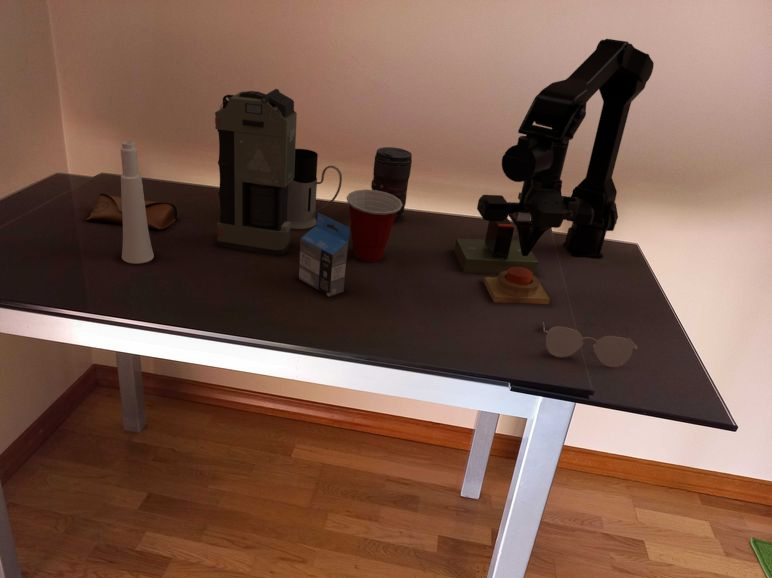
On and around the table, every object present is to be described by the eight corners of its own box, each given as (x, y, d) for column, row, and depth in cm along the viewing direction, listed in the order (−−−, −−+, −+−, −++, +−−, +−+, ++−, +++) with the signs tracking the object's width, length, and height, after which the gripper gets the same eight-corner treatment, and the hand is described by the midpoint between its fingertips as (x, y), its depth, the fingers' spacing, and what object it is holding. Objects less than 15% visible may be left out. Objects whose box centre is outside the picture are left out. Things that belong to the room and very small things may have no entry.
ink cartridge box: (297, 279, 129) (300, 216, 122) (313, 274, 131) (317, 211, 125) (328, 297, 123) (333, 232, 117) (345, 292, 125) (350, 227, 119)
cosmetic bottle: (145, 248, 137) (136, 136, 125) (159, 259, 133) (151, 144, 121) (116, 255, 134) (104, 140, 122) (129, 266, 130) (118, 149, 118)
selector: (484, 242, 141) (490, 212, 137) (499, 242, 141) (505, 213, 137) (492, 256, 135) (499, 226, 131) (508, 257, 135) (514, 226, 131)
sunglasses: (538, 353, 110) (545, 324, 108) (537, 335, 118) (544, 308, 116) (631, 370, 107) (640, 341, 105) (624, 351, 115) (632, 323, 113)
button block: (535, 284, 132) (539, 270, 130) (548, 304, 125) (552, 289, 123) (483, 282, 132) (486, 268, 130) (493, 302, 125) (496, 287, 123)
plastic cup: (367, 272, 133) (374, 212, 126) (330, 253, 140) (334, 195, 133) (406, 259, 139) (414, 201, 133) (369, 241, 146) (375, 185, 139)
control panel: (520, 253, 144) (523, 239, 143) (535, 277, 135) (539, 262, 133) (453, 250, 144) (455, 236, 142) (464, 274, 134) (467, 259, 133)
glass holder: (288, 211, 158) (291, 145, 150) (345, 224, 153) (351, 156, 145) (270, 223, 152) (271, 155, 144) (329, 237, 147) (334, 167, 139)
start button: (526, 275, 129) (528, 267, 128) (533, 286, 125) (535, 277, 124) (503, 274, 129) (505, 266, 128) (509, 285, 125) (511, 276, 124)
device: (293, 243, 143) (299, 91, 127) (282, 258, 136) (287, 99, 121) (228, 233, 146) (227, 83, 130) (215, 247, 139) (211, 91, 124)
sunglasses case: (82, 219, 147) (87, 188, 147) (97, 225, 154) (102, 195, 154) (163, 230, 144) (168, 198, 144) (174, 235, 151) (179, 205, 151)
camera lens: (392, 227, 153) (400, 159, 145) (362, 217, 157) (368, 151, 149) (410, 217, 159) (419, 152, 151) (381, 208, 163) (387, 144, 155)
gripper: (500, 182, 109) (482, 272, 117) (617, 187, 110) (591, 277, 118) (484, 161, 118) (469, 246, 127) (592, 166, 119) (569, 250, 127)
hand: (524, 255), depth 124 cm, fingers closed
